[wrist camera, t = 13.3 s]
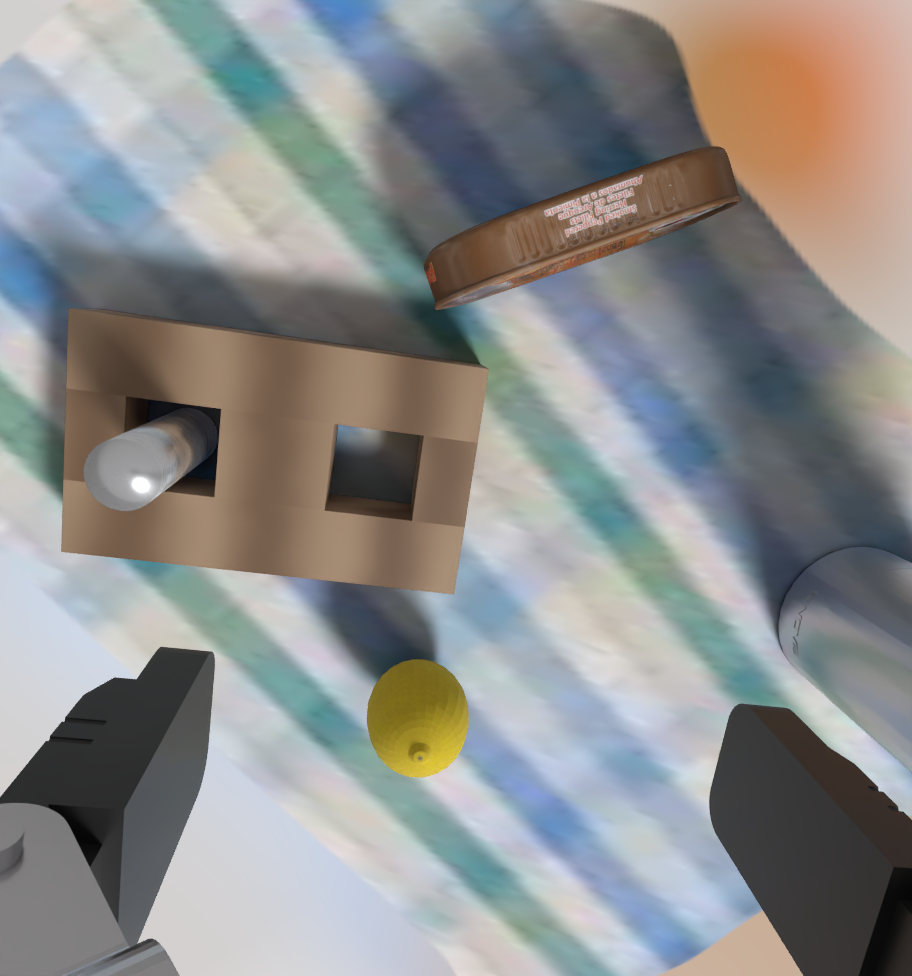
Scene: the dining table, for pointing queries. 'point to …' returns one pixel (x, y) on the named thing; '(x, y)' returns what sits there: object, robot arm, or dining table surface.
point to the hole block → (272, 451)
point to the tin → (581, 226)
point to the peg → (149, 458)
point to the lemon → (417, 718)
